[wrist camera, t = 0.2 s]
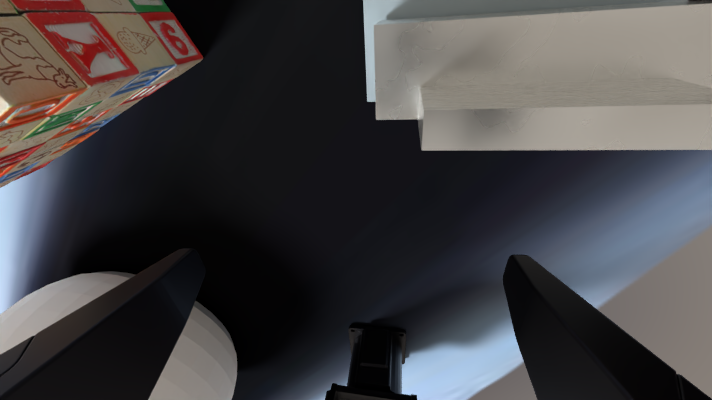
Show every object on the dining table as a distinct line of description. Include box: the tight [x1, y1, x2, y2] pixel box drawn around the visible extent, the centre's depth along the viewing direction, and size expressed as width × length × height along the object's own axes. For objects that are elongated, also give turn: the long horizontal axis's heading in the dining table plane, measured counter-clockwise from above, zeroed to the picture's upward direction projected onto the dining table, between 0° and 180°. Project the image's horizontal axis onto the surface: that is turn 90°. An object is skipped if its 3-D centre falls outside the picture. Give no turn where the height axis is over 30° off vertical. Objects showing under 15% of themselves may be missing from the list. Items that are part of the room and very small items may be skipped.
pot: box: [0, 271, 237, 400], centre depth 33 cm, size 29×26×17 cm
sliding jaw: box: [374, 0, 712, 150], centre depth 13 cm, size 4×14×9 cm, turn 93°
